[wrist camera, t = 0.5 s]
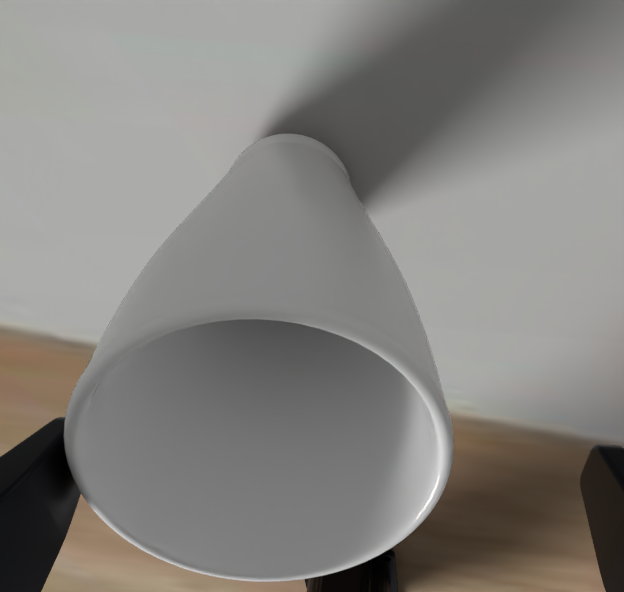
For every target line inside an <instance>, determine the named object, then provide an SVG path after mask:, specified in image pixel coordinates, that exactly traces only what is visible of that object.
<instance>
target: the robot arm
mask: <svg viewBox="0 0 624 592" xmlns="http://www.w3.org/2000/svg"><path fill="white" fill-rule="evenodd" d="M64 422H65V417H59V418H56V419H54V420H52V421H51V422H49V423H48V424H47V425H45V426H44V427H42V428H41V429H39V430H38V431H37V432H35V433H34V434H32V435H31V436H30V437H28V438H27V439H25V440H24V441H22V442H21V443H20V444H18V445H17V446H15V447H14V448H12V449H11V450H10V451H8V452H7V453H5V454H4V455H2V456H1V457H0V592H41V590H42V588H43V586H44V584H45V582H46V580H47V577H48V575H49V573H50V571H51V569H52V566H53V564H54V562H55V560H56V558H57V556H58V553H59V551H60V549H61V547H62V544H63V542H64V540H65V537H66V534H67V532H68V529H69V526H70V524H71V521H72V518H73V515H74V512H75V509H76V506H77V503H78V500H79V497H80V495H81V492H80V491H79V489H78V487H77V485H76V483H75V481H74V479H73V477H72V474H71V471H70V468H69V466H68V462H67V458H66V453H65V446H64ZM580 486H581V492H582V496H583V501H584V505H585V509H586V514H587V518H588V522H589V527H590V531H591V535H592V539H593V544H594V548H595V552H596V557H597V561H598V565H599V569H600V573H601V577H602V581H603V584H604V587H605V590H606V592H624V448H622V447H620V446H616V445H595V446H594V447H593V448H592V449H591V451H590V454H589V456H588V459H587V461H586V464H585V466H584V469H583V471H582V474H581V478H580ZM305 583H306V587H307V592H398V586H397V574H396V562H395V553H394V552H393V551H392V550H390V549H389V550H387V551H386V552H384V553H382V554H380V555H379V556H377V557H375V558H372V559H370V560H368V561H366V562H364V563H362V564H359V565H357V566H354V567H351V568H348V569H345V570H342V571H339V572H336V573H332V574H328V575H324V576H319V577H313V578H308V579H305Z"/></svg>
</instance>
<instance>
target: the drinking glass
mask: <svg viewBox="0 0 624 592" xmlns="http://www.w3.org/2000/svg"><path fill="white" fill-rule="evenodd" d="M64 446H65V453H66V458H67V462H68V466H69V468H70V471H71V474H72V477H73V479H74V481H75V483H76V485H77V487H78V489H79V491H80V492H81V494H82V495H83V497H84V498H85V500H86V502H87V503H88V504H89V505H90V507H91V508H92V509H93V510H94V512H95V513H96V514H97V515H98V516H99V517H100V518H101V519H102V520H103V521H104V522H105V523H106V524H107V525H108V526H109V527H110V528H111V529H113V530H114V531H115V532H116V533H117V534H119V535H120V536H121V537H123V538H124V539H126V540H127V541H128V542H130V543H131V544H133V545H135V546H136V547H138V548H139V549H141V550H143V551H145V552H147V553H148V554H150V555H152V556H154V557H156V558H158V559H161V560H163V561H165V562H168V563H170V564H173V565H175V566H178V567H181V568H184V569H187V570H190V571H194V572H197V573H201V574H205V575H210V576H214V577H220V578H226V579H233V580H242V581H259V582H276V581H292V580H300V579H308V578H313V577H319V576H324V575H328V574H332V573H336V572H339V571H342V570H345V569H348V568H351V567H354V566H357V565H359V564H362V563H364V562H366V561H368V560H370V559H372V558H375V557H377V556H379V555H380V554H382V553H384V552H386V551H387V550H389V549H391V548H392V547H394V546H395V545H396V544H398V543H399V542H401V541H402V540H404V539H405V538H406V537H407V536H408V535H409V534H411V533H412V532H413V531H414V530H415V529H416V528H417V527H418V526H419V525H420V524H421V523H422V522H423V521H424V520H425V519H426V517H427V516H428V515H429V514H430V512H431V511H432V510H433V508H434V507H435V505H436V504H437V502H438V500H439V499H440V497H441V495H442V493H443V491H444V489H445V487H446V484H447V481H448V478H449V475H450V472H451V467H452V462H453V452H454V438H453V427H452V423H451V419H450V414H449V411H448V408H447V405H446V402H445V398H444V394H443V391H442V387H441V383H440V379H439V375H438V372H437V368H436V365H435V361H434V358H433V354H432V351H431V348H430V345H429V342H428V339H427V336H426V333H425V330H424V327H423V324H422V321H421V319H420V316H419V313H418V311H417V308H416V306H415V303H414V300H413V298H412V295H411V293H410V291H409V289H408V286H407V284H406V282H405V280H404V278H403V276H402V274H401V272H400V270H399V268H398V266H397V264H396V262H395V260H394V258H393V257H392V255H391V253H390V251H389V249H388V248H387V246H386V244H385V242H384V241H383V239H382V237H381V236H380V234H379V232H378V230H377V229H376V227H375V225H374V224H373V222H372V220H371V218H370V217H369V215H368V213H367V212H366V210H365V208H364V206H363V205H362V203H361V201H360V199H359V198H358V196H357V194H356V192H355V190H354V189H353V187H352V184H351V180H350V177H349V175H348V172H347V170H346V168H345V166H344V165H343V163H342V162H341V160H340V159H339V158H338V156H337V155H336V154H335V153H334V152H333V151H332V150H331V149H329V148H328V147H327V146H326V145H324V144H323V143H321V142H319V141H317V140H315V139H313V138H311V137H307V136H304V135H299V134H291V133H284V134H276V135H271V136H268V137H265V138H263V139H260V140H258V141H257V142H255V143H253V144H252V145H250V146H249V147H248V148H246V149H245V150H244V151H243V152H242V153H241V154H240V155H239V156H238V158H237V159H236V160H235V162H234V163H233V165H232V167H231V169H230V171H229V172H228V173H227V174H226V176H225V177H224V178H223V179H222V180H221V181H220V182H219V183H218V184H217V185H216V187H215V188H214V189H213V190H212V191H211V192H210V193H209V194H208V195H207V196H206V197H205V198H204V199H203V200H202V202H201V203H200V204H199V205H198V206H197V207H196V208H195V209H194V210H193V211H192V212H191V213H190V214H189V215H188V216H187V217H186V219H185V220H184V221H183V222H182V223H181V224H180V225H179V226H178V227H177V228H176V229H175V231H174V232H173V233H172V234H171V235H170V236H169V237H168V238H167V239H166V241H165V242H164V243H163V244H162V245H161V247H160V248H159V249H158V250H157V251H156V253H155V254H154V255H153V257H152V258H151V259H150V261H149V262H148V263H147V265H146V266H145V268H144V269H143V270H142V272H141V273H140V275H139V276H138V278H137V279H136V280H135V282H134V283H133V285H132V286H131V288H130V289H129V291H128V293H127V294H126V296H125V297H124V299H123V300H122V302H121V304H120V305H119V307H118V309H117V311H116V312H115V314H114V316H113V317H112V319H111V321H110V323H109V325H108V326H107V328H106V330H105V332H104V334H103V336H102V337H101V339H100V341H99V343H98V345H97V347H96V349H95V350H94V352H93V354H92V356H91V358H90V360H89V362H88V364H87V366H86V368H85V370H84V371H83V373H82V374H81V376H80V378H79V380H78V382H77V384H76V385H75V387H74V389H73V392H72V395H71V397H70V400H69V403H68V407H67V411H66V416H65V422H64Z"/></svg>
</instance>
